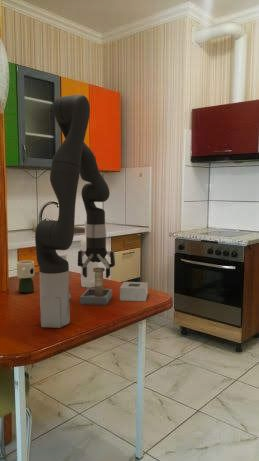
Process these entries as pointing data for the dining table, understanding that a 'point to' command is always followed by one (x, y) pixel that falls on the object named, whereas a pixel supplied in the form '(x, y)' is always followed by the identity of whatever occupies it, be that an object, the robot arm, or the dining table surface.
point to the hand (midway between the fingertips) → (96, 277)
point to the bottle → (90, 278)
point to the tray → (90, 298)
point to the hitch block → (134, 291)
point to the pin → (98, 281)
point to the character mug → (25, 275)
